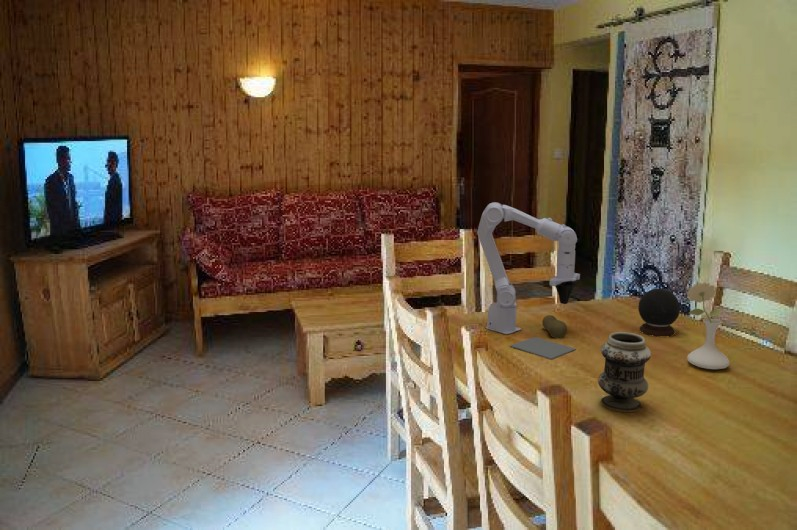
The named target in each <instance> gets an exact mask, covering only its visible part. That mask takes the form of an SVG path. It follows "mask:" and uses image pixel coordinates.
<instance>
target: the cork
mask: <svg viewBox="0 0 797 530" xmlns="http://www.w3.org/2000/svg"><path fill="white" fill-rule="evenodd" d="M541 321H542V323H541V324H542V326H543V328H544V329H545V330H546V331H548V332H549V334H550V336H551V337H552V338H554V339H562V338H563V337H565V336H566V335H567V332H568V326H567V324H566V323H565V322H564V321H562V320H559V319H557V318H556V317H555V315H551V314H549V315H546V316H544V317H543V318H542V320H541Z"/></svg>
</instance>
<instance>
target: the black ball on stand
mask: <svg viewBox="0 0 797 530" xmlns="http://www.w3.org/2000/svg"><path fill="white" fill-rule="evenodd" d="M637 308H638V312H639V315H640V318H641V319H642V320H643V321H644V323H643V324H641V326H640V327H639V331H641V332H640V333H642V332H643V333H642V334H644V335H647V334H648V336H650V335H653V336H652V337H657V336H669V337H671V336H670V335H673V334H674V333H675V332H676V330H675V329H674V327H673V326H671V325H672V324H674V322H676V320H677V319H678V318H679V315H680V312H681V305H680V301H679V300H678V298H677V296H676V295H675V294H674V293H673V292H671V291H670V290H668V289H664V288H653V289H650V290H648V291H646V292H645V293H644V294H643V295H642V296H641V297H640V299H639V301H638V306H637ZM674 335H675V334H674ZM674 335H673V336H674Z"/></svg>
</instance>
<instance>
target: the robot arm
mask: <svg viewBox="0 0 797 530" xmlns="http://www.w3.org/2000/svg"><path fill="white" fill-rule="evenodd" d="M502 221H503V222H509V221H515V222H517V223H520V224H523V225H526V226H528V227H531V228H533V229H535V231H536V234H537V235H540V236H542V237H545V238H547V239H548V240H551V241H554V242H558V249H557V255H556V257H557V259H556V275H555V276H554V277H553V278H551V279H549V286H552V287H555V290H556V291H557V294H558V300H559V302H560V304H561V305H562V304H563V305H566V304H568V303H569V299H570V297H571V294H572V291H573V289H574V288H575V287H576V282H575V281H577V280H578V281H579V280H580V278H581V273H576V272H575V268H576V267H575V264H576V250H575V249H576V243H578V238H577V234H576V231H574V229H572V228H571V227H570V226H567V225H566V224H563V223H562V224H560V223H558V222H555V221H553V219H552V218H551V217H547V218H546V217H543V218H540V219H538V218H536V217H534V216H532V215H529V214H527V213H525V212H523V211H521V210H519V209H517V208H515V207H512V206H509V205H506V204H501V203H499V202H495V201H494V202H491V203H489V204H487V206H486V207H485V208H484V210H483V212H482V214H481V217H480V221H479V224H478V228H477V232H476V233H477V236H478V239H479V241H480V245H481V248H482V250H483V254H484V256H485V259H486V262H487V265H488V267H489V271H490V273H491V276H492V279H493V281H494V286H495V290H496V301H495V302H494V301H493V302H492V303H491V304H490V305H489V307H488V309H487V326H486V327H485V328H486V329H487V330H490V331H493V332H497V333H501V334H504V335H510V334H513V333H516V332H519V331H521V330H522V328H521V327H517V307H518V305H517V302H516V299H517V297H516V294H517V293H516V292H517V291H516V288H515V285H513V284H512V282H510V278H509V277H508V275H507V272H506V269H505V267H504V263H503V260H502V258H501V255H500V252H499V249H498V247H497V244H496V242H495V238H494V236H493V232H494V230H495V229H496V226H498V225H499V224H500V223H501V222H502Z"/></svg>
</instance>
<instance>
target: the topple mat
mask: <svg viewBox="0 0 797 530" xmlns="http://www.w3.org/2000/svg"><path fill="white" fill-rule="evenodd" d="M512 347H513V348H512ZM509 348H512V349H516V350H518V351H522V352H525V353H528V354H533V355H534V354H535V356H538V357H542V358H544V359H548V360H554V359H556V358H559V357H562V356H563V355H566V354H569V353H572V352H575V351H576V350H577V348H574V347H571V346H567V345H564V344H562V343H561V344H560V343H557V342H554V341H550V340H547V339H543V338H540V337H536V336H532V337H529V338H527V339H525V340H520V341H518V342H516V343H513V344H511V345H509Z"/></svg>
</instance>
